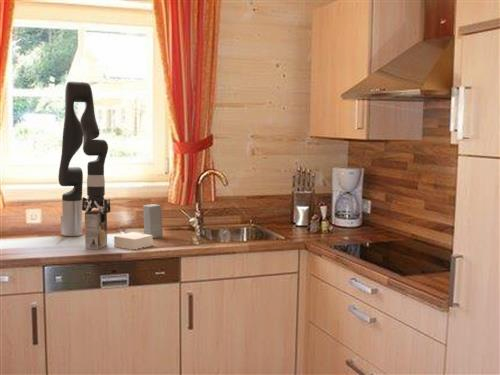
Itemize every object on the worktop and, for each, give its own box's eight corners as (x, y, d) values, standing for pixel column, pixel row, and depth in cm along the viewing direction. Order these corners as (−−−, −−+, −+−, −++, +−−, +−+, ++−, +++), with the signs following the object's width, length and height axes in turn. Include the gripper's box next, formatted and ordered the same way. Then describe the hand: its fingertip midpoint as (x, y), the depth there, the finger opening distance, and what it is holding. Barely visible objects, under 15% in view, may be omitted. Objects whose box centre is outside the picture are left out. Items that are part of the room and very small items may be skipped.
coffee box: (94, 244, 262) (94, 209, 260) (107, 245, 261) (107, 210, 259) (84, 248, 253) (84, 212, 252) (98, 249, 252) (98, 213, 250)
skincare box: (163, 237, 282) (163, 205, 280) (149, 238, 278) (149, 206, 276) (155, 234, 289) (155, 203, 287) (142, 236, 285) (142, 204, 283)
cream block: (114, 247, 259) (114, 236, 259) (132, 242, 269) (132, 232, 269) (134, 250, 253) (134, 239, 253) (152, 246, 263) (152, 235, 263)
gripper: (77, 184, 254) (77, 221, 256) (102, 186, 248) (102, 224, 249) (89, 183, 261) (90, 219, 262) (114, 185, 254) (114, 221, 256)
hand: (96, 221), depth 256 cm, fingers open, 8 cm apart
